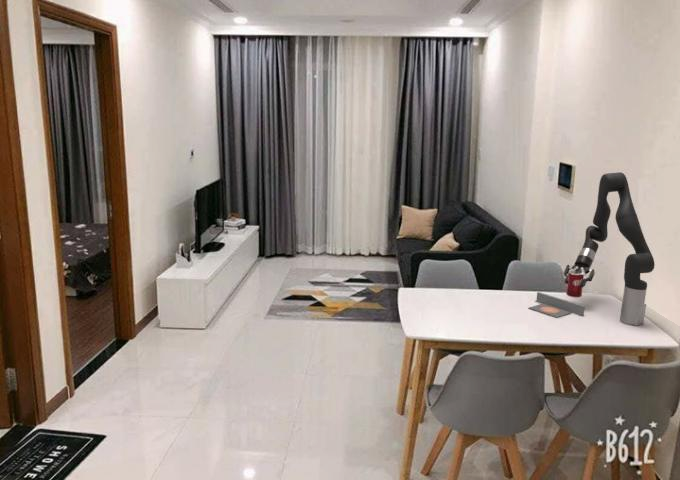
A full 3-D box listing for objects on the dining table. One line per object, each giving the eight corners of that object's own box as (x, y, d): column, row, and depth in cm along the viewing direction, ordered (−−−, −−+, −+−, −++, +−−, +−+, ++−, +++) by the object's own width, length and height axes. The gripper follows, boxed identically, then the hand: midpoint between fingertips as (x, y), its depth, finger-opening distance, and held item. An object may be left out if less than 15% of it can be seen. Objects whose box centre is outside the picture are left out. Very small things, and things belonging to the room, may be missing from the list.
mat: (571, 313, 272) (571, 312, 272) (556, 318, 265) (557, 316, 265) (542, 304, 285) (543, 303, 285) (528, 308, 278) (528, 307, 278)
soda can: (562, 294, 283) (565, 271, 281) (573, 293, 286) (575, 270, 284) (574, 298, 277) (576, 275, 274) (584, 297, 280) (587, 274, 277)
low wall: (583, 315, 270) (584, 306, 269) (582, 316, 269) (583, 306, 268) (537, 301, 290) (538, 292, 289) (536, 301, 290) (537, 292, 289)
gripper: (569, 252, 287) (558, 277, 282) (598, 256, 278) (586, 283, 272) (573, 260, 292) (561, 286, 286) (601, 265, 282) (589, 291, 277)
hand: (573, 284), depth 279 cm, fingers closed on soda can, 7 cm apart
